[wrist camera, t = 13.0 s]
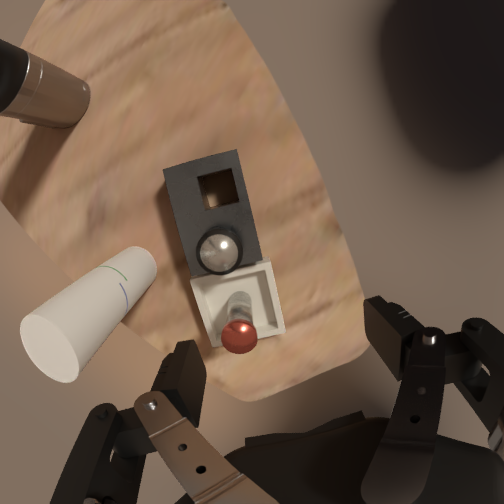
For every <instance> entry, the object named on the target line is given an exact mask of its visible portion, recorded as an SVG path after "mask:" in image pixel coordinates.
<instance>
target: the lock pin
mask: <svg viewBox="0 0 504 504" xmlns="http://www.w3.org/2000/svg"><path fill="white" fill-rule="evenodd" d="M257 340H258V337H257V330H256V328H255V326H254V325H253V313H252V300H251V297H250V295H249V294H248V293H246V292H244V291H237V292H234V293H233V294H232V295H231V296H230V298H229V302H228V311H227V319H226V324H225V325H224V327H223V329H222V334H221V342H222V345H223V346H224V347H225V348H226V349H227V350H228V351H230V352H232V353H236V354H244V353H247V352H249V351H251V350H252V349H253V348H254V347H255V346H256V344H257Z"/></svg>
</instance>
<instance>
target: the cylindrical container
mask: <svg viewBox="0 0 504 504" xmlns="http://www.w3.org/2000/svg"><path fill="white" fill-rule="evenodd" d="M156 274H157V266H156V263H155V260H154V258H153V257H152V255H151V254H150V253H149V252H148V251H147V250H145V249H143V248H141V247H136V246H134V247H129V248H127V249H125V250H123V251H122V252H120V253H118V254H117V255H115V256H113V257H112V258H110V259H109V260H107V261H106V262H104V263H102V264H101V265H99V266H98V267H96V268H95V269H93V270H92V271H90V272H89V273H87V274H85V275H84V276H82V277H81V278H79V279H78V280H76V281H75V282H73V283H72V284H71V285H69V286H68V287H66V288H65V289H63V290H62V291H60V292H59V293H58V294H56V295H55V296H53V297H52V298H50V299H49V300H48V301H46V302H45V303H43V304H42V305H41V306H39V307H38V308H37V309H35V310H34V311H32V312H31V313H30V314H28V315H27V316H26V317H24V319H23V320H22V322H21V326H20V334H21V339H22V343H23V345H24V348H25V350H26V352H27V354H28V355H29V357H30V358H31V360H32V361H33V362H34V364H35V365H36V366H37V367H38V368H39V369H40V370H41V371H42V372H43V373H45V374H46V375H47V376H49V377H51V378H52V379H54V380H56V381H59V382H64V383H69V382H72V381H74V380H75V379H76V378H77V377H78V375H79V374H80V373H81V371H82V370H83V369H84V367H85V366H86V365H87V363H88V362H89V361H90V359H91V358H92V357H93V355H94V354H95V353H96V351H97V350H98V349H99V348H100V346H101V345H102V344H103V343H104V341H105V340H106V338H107V337H108V336H109V335H110V333H111V332H112V331H113V330H114V329H115V327H116V326H117V325H118V324H119V322H120V321H121V320H122V319H123V317H124V316H125V315H126V314H127V313H128V311H129V310H130V309H131V308H132V307H133V305H134V304H135V303H136V302H137V301H138V299H139V298H140V297H141V296H142V295H143V293H144V292H145V291H146V290H147V289H148V287H149V286H150V285H151V284H152V283H153V281H154V280H155V278H156Z"/></svg>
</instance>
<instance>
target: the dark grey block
mask: <svg viewBox="0 0 504 504" xmlns="http://www.w3.org/2000/svg"><path fill="white" fill-rule="evenodd" d="M229 170H232V172H233V176H234V180H235V185H236V189H237V193H238V197H239V200H238V201H234V202H230V203H226V204H222V205H218V206H214V207H210V206H209V202H208V198H207V194H206V190H205V186H204V182H203V178H202V177H206V176H210V175H213V174H217V173H221V172H225V171H229ZM163 173H164V178H165V182H166V186H167V190H168V194H169V198H170V202H171V206H172V209H173V213H174V217H175V221H176V224H177V228H178V232H179V235H180V239H181V242H182V246H183V249H184V253H185V256H186V259H187V263H188V266H189V269H190V273H191V276H197V275H201V274H206V273H210V274H213V275H219V276H220V275H227V274H229V273H231V272H233V271H234V270H236V269H237V268H238V266H241V265H245V264H249V263H253V262H258V261H262V260H263V258H262V254H261V249H260V245H259V241H258V237H257V232H256V228H255V224H254V219H253V215H252V211H251V207H250V203H249V198H248V194H247V190H246V186H245V182H244V177H243V173H242V169H241V165H240V161H239V157H238V152H237V149H235V150H231V151H227V152H223V153H219V154H215V155H211V156H207V157H204V158H200V159H196V160H193V161H189V162H186V163H182V164H179V165H176V166H172V167H169V168H166V169H163Z"/></svg>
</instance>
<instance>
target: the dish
mask: <svg viewBox="0 0 504 504" xmlns="http://www.w3.org/2000/svg"><path fill="white" fill-rule="evenodd" d="M262 258H263V260H262V261H258V262H253V263H249V264H245V265H241V266H238V268H237V269H236V270H234V271H233V272H231V273H229V274H227V275H220V276H219V275H213V274H210V273H206V274H201V275H197V276H191V278H190V283H191V286H192V289H193V292H194V295H195V298H196V301H197V304H198V307H199V310H200V313H201V316H202V319H203V322H204V325H205V328H206V331H207V333H208V336H209V339H210V342H211V345H212V347H219V346H223V345H222V342H221V334H222V329H223V327H224V325H225V324H226V319H227V311H228V302H229V298H230V296H231V295H232V294H233V293H234V292H237V291H244V292H246V293H248V294H249V295H250V297H251V300H252V313H253V325H254V326H255V328H256V330H257V337H258V339H259V338H264V337H269V336H273V335H277V334H282V333H286V330H285V325H284V321H283V316H282V311H281V307H280V302H279V298H278V293H277V288H276V284H275V279H274V275H273V270H272V266H271V261H270V258H269V256H266V257H262Z"/></svg>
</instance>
